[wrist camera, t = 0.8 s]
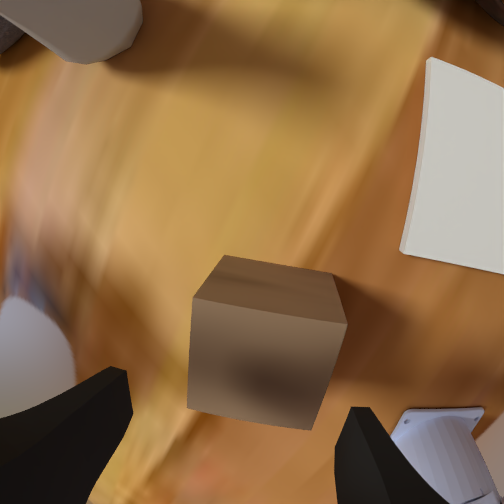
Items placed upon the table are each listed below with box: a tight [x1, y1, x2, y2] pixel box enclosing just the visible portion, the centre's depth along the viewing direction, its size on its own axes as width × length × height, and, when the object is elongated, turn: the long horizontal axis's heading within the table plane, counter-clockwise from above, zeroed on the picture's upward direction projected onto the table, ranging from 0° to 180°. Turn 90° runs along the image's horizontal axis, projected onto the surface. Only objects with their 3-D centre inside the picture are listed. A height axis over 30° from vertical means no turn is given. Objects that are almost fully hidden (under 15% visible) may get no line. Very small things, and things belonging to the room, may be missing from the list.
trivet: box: [399, 57, 504, 274], centre depth 14 cm, size 11×11×1 cm
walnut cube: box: [187, 255, 348, 430], centre depth 16 cm, size 6×6×6 cm
